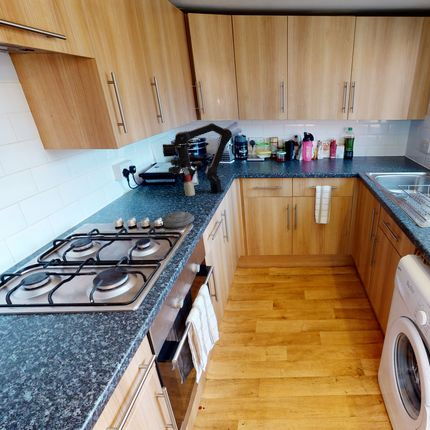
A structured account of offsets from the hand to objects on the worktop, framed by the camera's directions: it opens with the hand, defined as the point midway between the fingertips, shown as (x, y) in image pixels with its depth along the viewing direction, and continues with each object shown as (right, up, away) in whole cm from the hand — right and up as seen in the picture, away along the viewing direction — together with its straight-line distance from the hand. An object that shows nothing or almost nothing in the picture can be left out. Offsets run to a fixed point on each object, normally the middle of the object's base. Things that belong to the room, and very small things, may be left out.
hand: (187, 181), depth 169 cm
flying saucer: (+8, -24, -34) cm, 42 cm away
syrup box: (-4, 0, +21) cm, 21 cm away
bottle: (0, -7, +3) cm, 8 cm away
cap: (0, 0, 0) cm, 1 cm away
